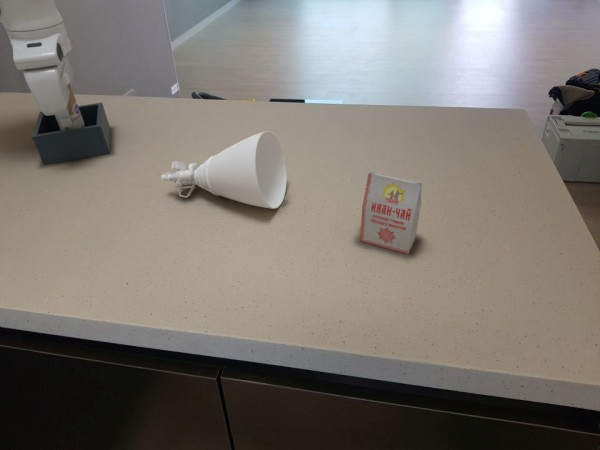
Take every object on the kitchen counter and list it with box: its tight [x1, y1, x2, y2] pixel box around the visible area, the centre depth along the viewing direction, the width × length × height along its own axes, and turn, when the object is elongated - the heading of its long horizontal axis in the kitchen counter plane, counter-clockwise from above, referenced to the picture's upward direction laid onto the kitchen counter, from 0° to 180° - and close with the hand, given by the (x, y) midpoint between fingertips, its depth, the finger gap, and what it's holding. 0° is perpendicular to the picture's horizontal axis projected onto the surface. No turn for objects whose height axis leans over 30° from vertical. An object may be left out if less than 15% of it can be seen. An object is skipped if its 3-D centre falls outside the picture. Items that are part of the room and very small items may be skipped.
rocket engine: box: [160, 130, 288, 210], centre depth 71 cm, size 12×12×18 cm
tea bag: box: [359, 171, 423, 255], centre depth 60 cm, size 4×7×10 cm, turn 64°
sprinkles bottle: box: [55, 71, 85, 131], centre depth 84 cm, size 5×5×13 cm
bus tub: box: [31, 102, 111, 165], centre depth 87 cm, size 12×12×6 cm
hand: (69, 118), depth 86 cm, fingers open, 5 cm apart
